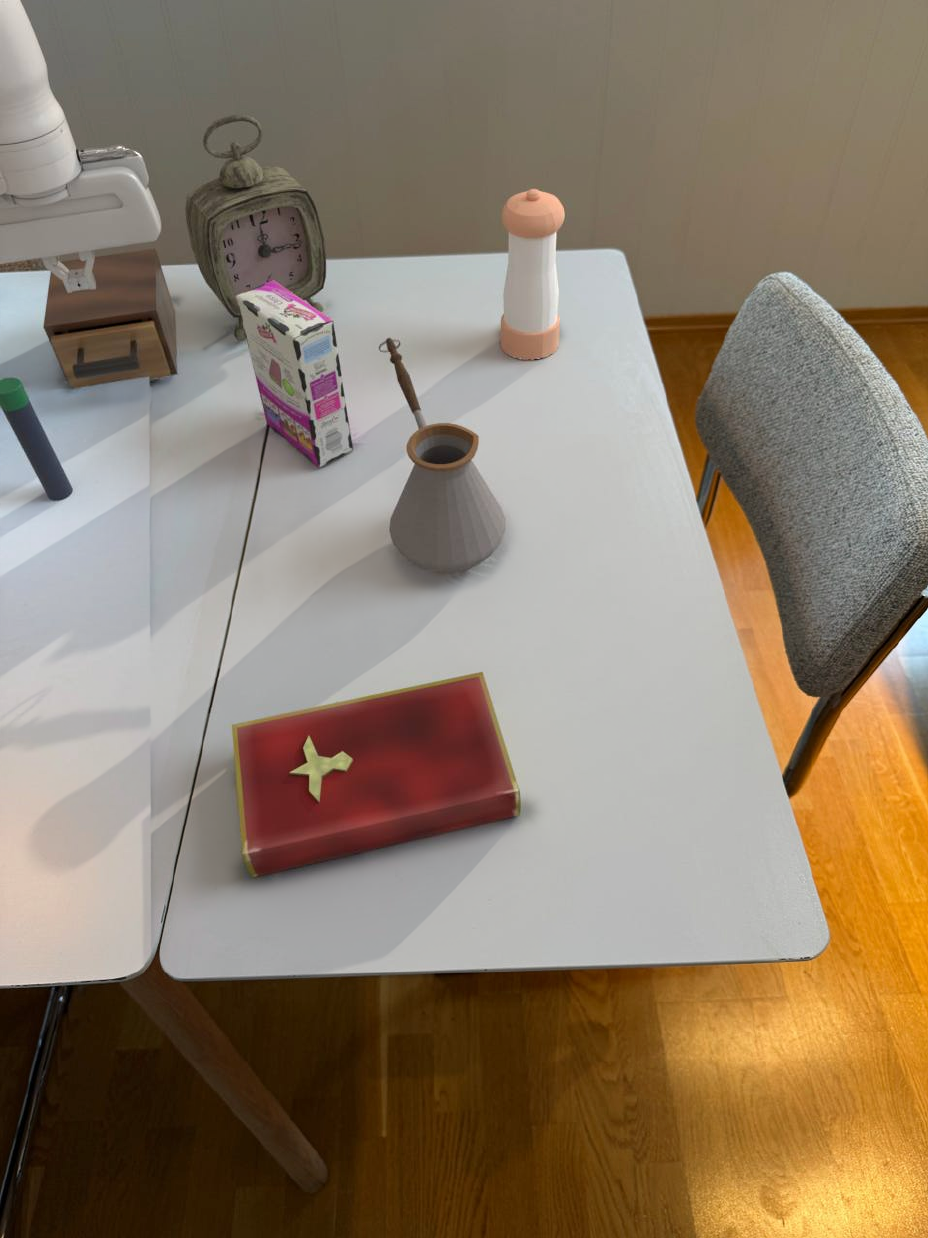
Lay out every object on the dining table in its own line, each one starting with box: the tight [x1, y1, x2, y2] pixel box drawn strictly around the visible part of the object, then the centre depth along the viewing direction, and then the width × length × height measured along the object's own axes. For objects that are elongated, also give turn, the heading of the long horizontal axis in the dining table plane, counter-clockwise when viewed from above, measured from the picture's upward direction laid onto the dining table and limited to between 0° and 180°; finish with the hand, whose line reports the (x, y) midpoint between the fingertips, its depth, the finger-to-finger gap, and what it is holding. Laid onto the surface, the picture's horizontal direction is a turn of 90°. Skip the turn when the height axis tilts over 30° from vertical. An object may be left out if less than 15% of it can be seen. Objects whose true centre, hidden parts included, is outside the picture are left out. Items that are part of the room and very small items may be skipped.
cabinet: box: [42, 248, 178, 382], centre depth 112 cm, size 15×13×9 cm
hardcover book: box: [231, 671, 522, 878], centre depth 72 cm, size 12×21×4 cm, turn 103°
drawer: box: [50, 318, 171, 389], centre depth 109 cm, size 19×12×7 cm, turn 13°
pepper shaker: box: [500, 188, 566, 361], centre depth 105 cm, size 7×7×19 cm
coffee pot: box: [377, 337, 506, 574], centre depth 88 cm, size 21×12×15 cm, turn 21°
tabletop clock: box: [185, 113, 327, 342], centre depth 109 cm, size 14×9×25 cm, turn 120°
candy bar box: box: [236, 280, 354, 469], centre depth 96 cm, size 11×5×16 cm, turn 41°
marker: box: [0, 376, 74, 502], centre depth 91 cm, size 3×3×15 cm
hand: (82, 288), depth 97 cm, fingers closed
